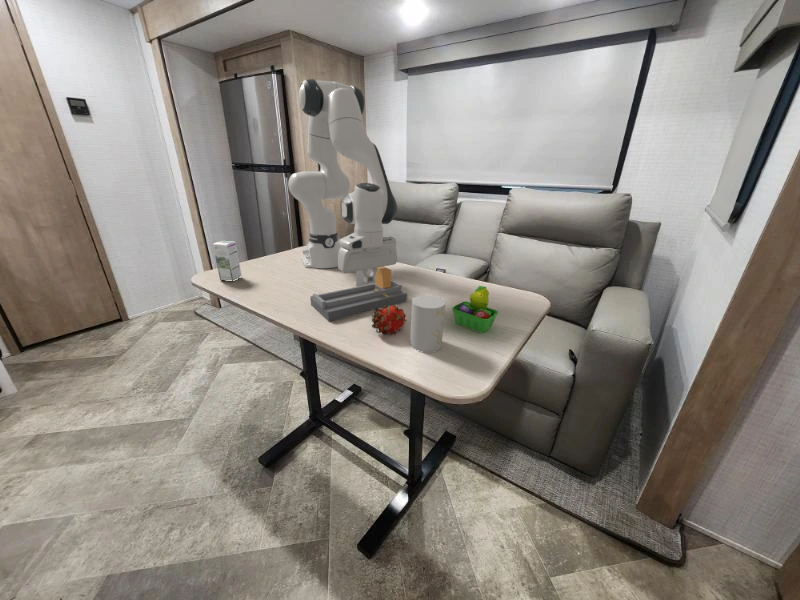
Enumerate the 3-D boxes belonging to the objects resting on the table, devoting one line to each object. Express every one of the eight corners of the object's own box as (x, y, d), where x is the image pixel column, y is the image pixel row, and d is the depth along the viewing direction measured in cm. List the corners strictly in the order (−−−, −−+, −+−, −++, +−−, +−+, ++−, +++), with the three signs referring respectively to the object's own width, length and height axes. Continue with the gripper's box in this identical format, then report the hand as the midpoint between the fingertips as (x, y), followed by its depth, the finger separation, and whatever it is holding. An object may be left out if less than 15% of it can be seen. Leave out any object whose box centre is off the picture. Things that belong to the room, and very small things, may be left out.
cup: (438, 354, 79) (442, 310, 75) (406, 349, 81) (408, 305, 77) (443, 339, 87) (447, 297, 82) (414, 334, 89) (416, 293, 84)
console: (310, 305, 104) (308, 290, 102) (384, 288, 120) (385, 276, 118) (327, 321, 94) (326, 306, 92) (407, 301, 109) (407, 287, 107)
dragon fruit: (369, 343, 86) (399, 334, 95) (390, 335, 81) (420, 326, 89) (359, 313, 88) (390, 307, 96) (379, 303, 82) (410, 297, 91)
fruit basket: (449, 323, 95) (452, 287, 91) (464, 314, 101) (468, 280, 97) (484, 336, 88) (490, 298, 84) (498, 326, 95) (504, 289, 90)
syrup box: (242, 277, 127) (236, 240, 121) (233, 282, 122) (226, 244, 116) (229, 276, 128) (222, 239, 122) (219, 281, 122) (211, 243, 117)
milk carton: (356, 287, 121) (354, 236, 113) (357, 280, 127) (356, 232, 120) (375, 287, 121) (375, 236, 113) (376, 281, 127) (375, 232, 120)
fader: (374, 287, 111) (374, 267, 108) (384, 285, 113) (384, 265, 110) (381, 292, 107) (382, 271, 105) (391, 290, 110) (392, 269, 107)
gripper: (390, 234, 109) (390, 273, 114) (334, 240, 97) (336, 283, 103) (401, 237, 104) (400, 278, 109) (344, 244, 93) (345, 289, 98)
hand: (369, 281), depth 106 cm, fingers closed
